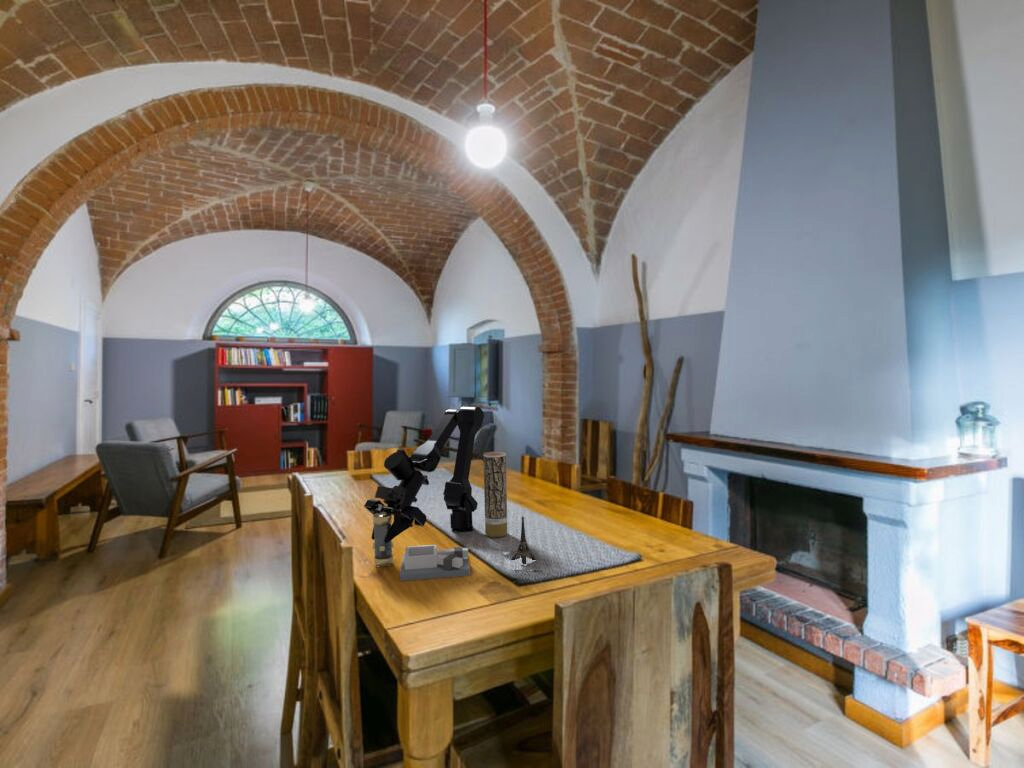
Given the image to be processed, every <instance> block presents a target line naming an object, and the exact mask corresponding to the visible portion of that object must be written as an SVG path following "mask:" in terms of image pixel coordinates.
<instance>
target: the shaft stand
mask: <svg viewBox="0 0 1024 768" xmlns="http://www.w3.org/2000/svg"><path fill="white" fill-rule="evenodd" d="M469 562H470V561H469V549H468V547H463V546H453V548H449V549H448V548H447V549H438V544H423V545H411V546H406V548H405V553H403V554H402V560H401V566H400V570H399V571H400V572H399V582H404V581H417V580H419V581H420V580H429V579H442V578H452V577H453V578H454V577H455V578H456V577H465V576H467V577H468V576H471V570H470V569H471V568H470V563H469Z"/></svg>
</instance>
